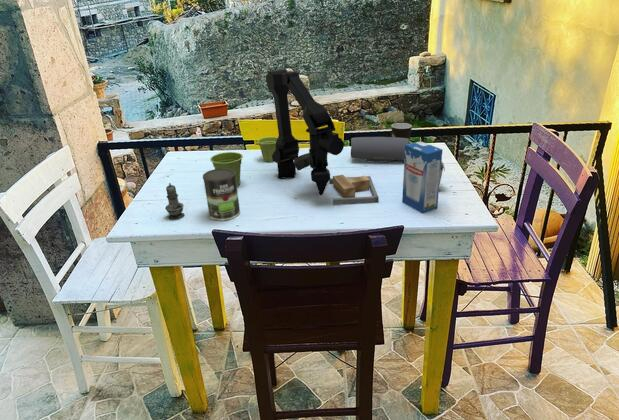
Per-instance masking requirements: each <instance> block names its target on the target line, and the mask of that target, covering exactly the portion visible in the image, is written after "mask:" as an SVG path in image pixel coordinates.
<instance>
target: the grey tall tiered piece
mask: <svg viewBox="0 0 619 420" xmlns="http://www.w3.org/2000/svg"><path fill="white" fill-rule="evenodd" d="M176 189H177V187H176V186H175V185H173V184H172V183H171V182H169V183H168V185H167V186H166V187H165V190H166V194H167V195H166V199H167V202H168V204H167V205H166V206H165V208H164V209H165V210H166V212H167V214H169V215H168V217H167V218H168V219H169V220H171V221H177V220H180V219H183V218H184V217H185V213H184V212H183V211H184V207H185V205H184V203H182V202H179V199H178V197H179V194H178V193H177V190H176Z"/></svg>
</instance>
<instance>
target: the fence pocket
mask: <svg viewBox="0 0 619 420" xmlns="http://www.w3.org/2000/svg"><path fill="white" fill-rule="evenodd" d="M365 176H366V175H365ZM345 177H346V176H345ZM354 177H355V176H350V177H346V178H347V179H348V178H354ZM366 177H367V178H368V179H369V180H370V190H369V191H370V193H371V196H369V195H368V196H355V197H351V198H342V197H339V198H338V197H337V198H336V197H334V198H332V205H333V206H337V205H339V206H340V205H353V204H354V205H355V204H357V203H358V204H369V203H371V204H373V203H379V201H380V200H379V198H380V197H379V195H378V192H377V190H376V187H375V185H374V182H373V180H372V177H371V176H370V175H367V176H366ZM328 183H329V185H333V177H330V180H329V182H328ZM358 204H357V205H358Z"/></svg>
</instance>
